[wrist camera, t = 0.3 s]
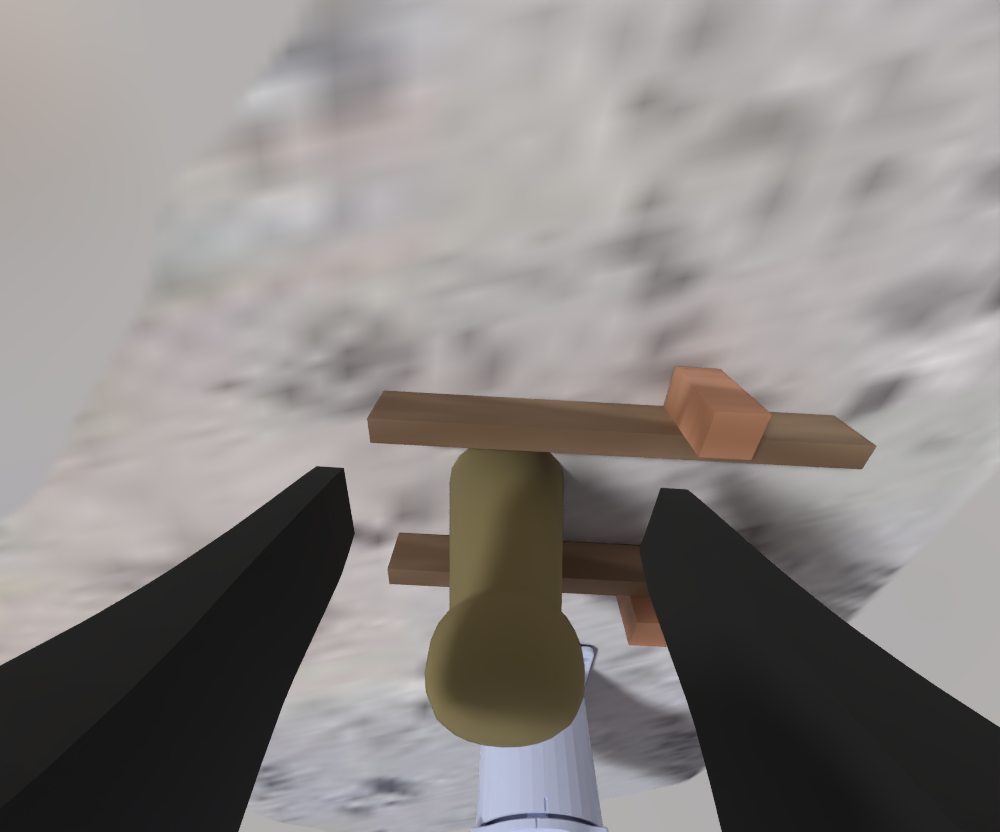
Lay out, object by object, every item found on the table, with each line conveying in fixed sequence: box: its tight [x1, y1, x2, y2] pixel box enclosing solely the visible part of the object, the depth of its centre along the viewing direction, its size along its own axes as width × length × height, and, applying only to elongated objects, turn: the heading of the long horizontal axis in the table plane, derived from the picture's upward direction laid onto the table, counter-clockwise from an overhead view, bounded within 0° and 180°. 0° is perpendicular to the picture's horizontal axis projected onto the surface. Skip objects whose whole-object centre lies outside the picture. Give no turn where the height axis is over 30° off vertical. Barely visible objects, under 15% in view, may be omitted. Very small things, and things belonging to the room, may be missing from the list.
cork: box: [425, 448, 585, 748], centre depth 16 cm, size 6×6×11 cm
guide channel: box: [367, 367, 876, 647], centre depth 19 cm, size 14×21×4 cm
